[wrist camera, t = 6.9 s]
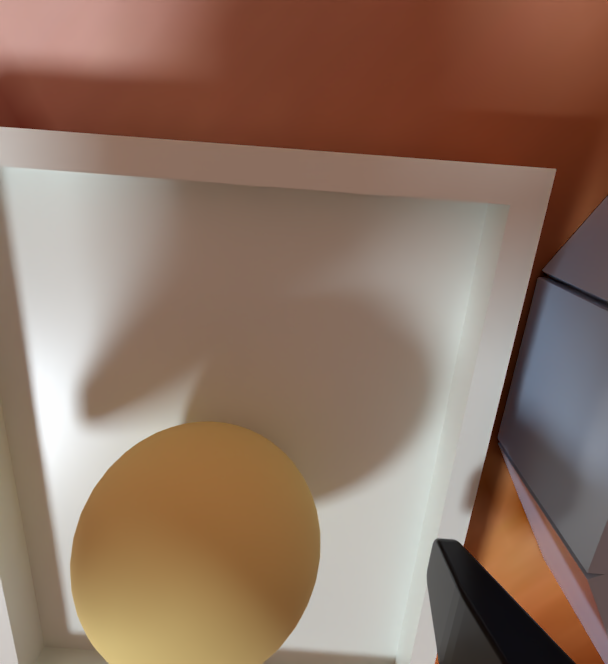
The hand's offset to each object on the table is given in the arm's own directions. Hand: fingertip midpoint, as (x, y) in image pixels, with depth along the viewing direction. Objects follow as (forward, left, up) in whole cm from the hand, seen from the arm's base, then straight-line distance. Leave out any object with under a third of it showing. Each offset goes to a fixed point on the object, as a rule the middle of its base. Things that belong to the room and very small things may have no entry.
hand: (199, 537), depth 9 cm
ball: (0, 0, 0) cm, 0 cm away
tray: (0, 0, -3) cm, 3 cm away
